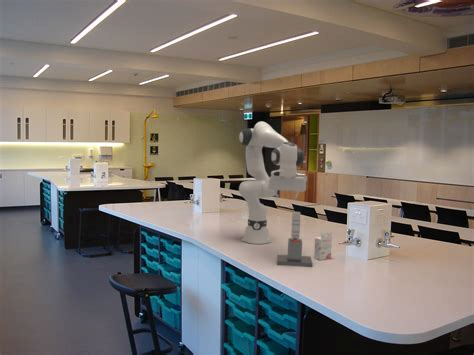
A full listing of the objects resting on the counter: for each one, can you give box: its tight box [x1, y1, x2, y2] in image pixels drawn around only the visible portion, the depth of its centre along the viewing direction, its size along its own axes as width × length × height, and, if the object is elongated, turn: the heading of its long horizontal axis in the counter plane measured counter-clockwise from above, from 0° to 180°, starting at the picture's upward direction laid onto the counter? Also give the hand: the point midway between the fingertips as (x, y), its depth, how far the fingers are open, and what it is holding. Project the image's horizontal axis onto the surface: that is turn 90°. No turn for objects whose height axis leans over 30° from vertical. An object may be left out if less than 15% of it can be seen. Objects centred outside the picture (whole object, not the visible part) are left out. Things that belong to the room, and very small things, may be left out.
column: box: [290, 211, 301, 241], centre depth 224 cm, size 4×4×18 cm
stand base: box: [276, 237, 313, 268], centre depth 225 cm, size 13×18×13 cm
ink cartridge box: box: [313, 231, 333, 261], centre depth 235 cm, size 9×5×15 cm, turn 123°
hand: (286, 198), depth 227 cm, fingers open, 8 cm apart
